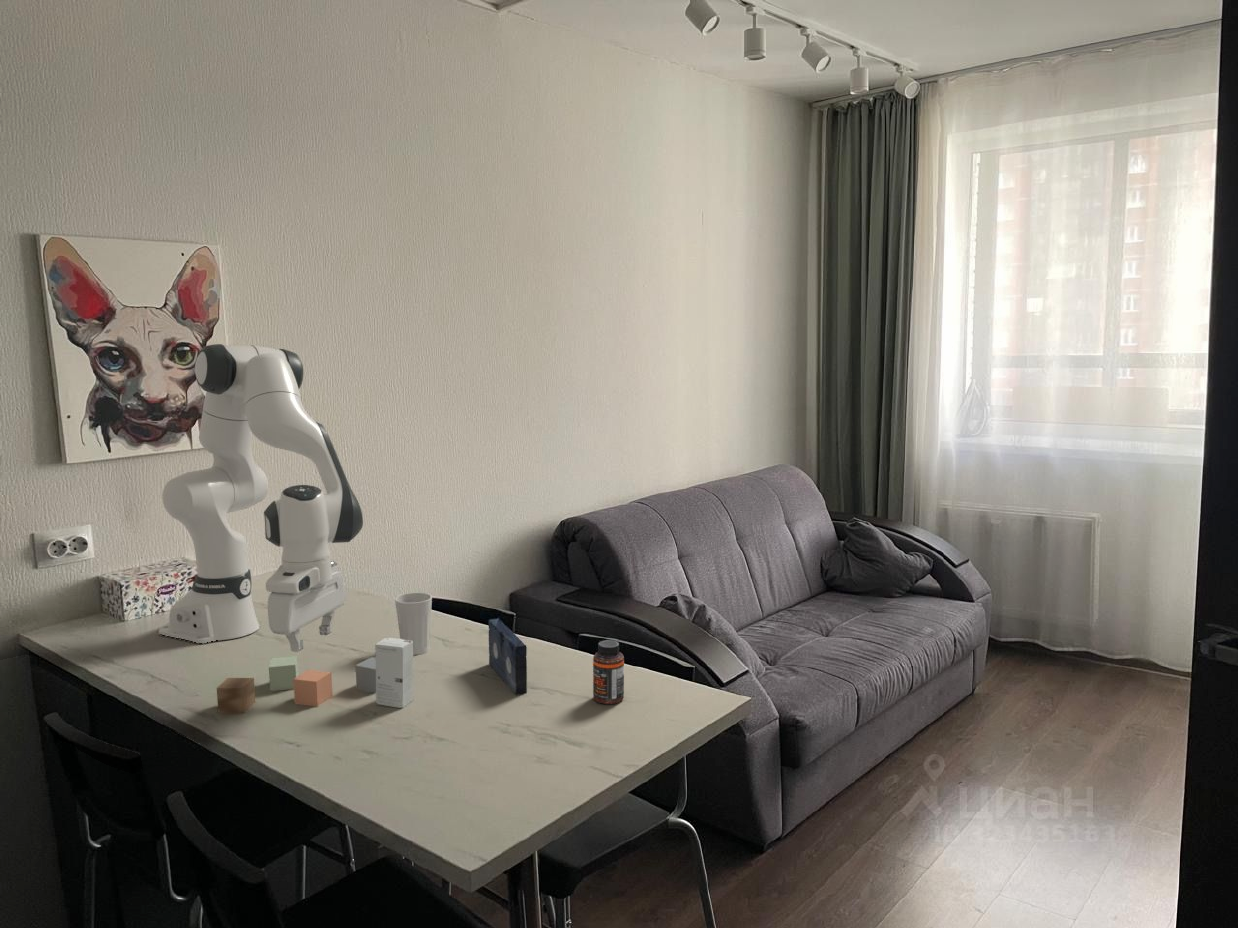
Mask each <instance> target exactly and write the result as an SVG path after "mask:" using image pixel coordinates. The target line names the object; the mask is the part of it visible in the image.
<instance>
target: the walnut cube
mask: <svg viewBox="0 0 1238 928" xmlns="http://www.w3.org/2000/svg"><path fill="white" fill-rule="evenodd" d="M216 699H217V701H216V702H217V713H218V714H245V713H247V712H248V711H249V710H250V708H251V707H253V706H254V705H255V703H256V689H255V677H227V678H226V679H225V680H224V681H223V682H221V684H219V685H218V686H217V687H216Z"/></svg>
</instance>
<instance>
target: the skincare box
mask: <svg viewBox="0 0 1238 928" xmlns="http://www.w3.org/2000/svg"><path fill="white" fill-rule="evenodd" d="M374 649H375V650H374V652H375V658H376V693H375V698H376V699H375V703H376V705H379V706H386V707H392V708H397V709H398V708H399V709H403V708H405V707H406V706H409V704H410V703H412V702H413V701H414V655H413V641H409V640H403V639H400V638H396V637H395V638H392V637H385V638H383V639H382V640H380V641H378V642H377V643H375V648H374Z"/></svg>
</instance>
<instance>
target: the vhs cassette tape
mask: <svg viewBox="0 0 1238 928" xmlns="http://www.w3.org/2000/svg"><path fill="white" fill-rule="evenodd" d="M527 649H528V648H527V645H526V644H525V642H523V641H522V640H521V638H519V637H518V636H517V635H516V634H515V632H513V630H511V629H510V628H509V627H508V626H507V625H506V624H505V623H504V622H503V621H502V620H501V619H500V618H499V617H498V618H491V619H488V654H489V655H488V664H489V666H490V667H491V669H492V670H493V671H494V672H495V673H496V674H497V675H498V676H499V678H500V679H501V678H502V679H503V680H504V681H503V680H502V679H501V680H502V681H503V682H504V684H506V686H507V685H508V686H509V687H508V686H507V687H508V688H509V689H510V690H511V691H512V692H513V694H514V693H515V694H514V695H515V696H516V695H518V694H519V695H521V694H522V695H523V694H527V693H528V679H527V678H528V675H527V673H528V666H527V663H528V661H527V655H528V652H527V651H528V650H527ZM519 695H518V696H519Z"/></svg>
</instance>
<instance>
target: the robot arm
mask: <svg viewBox="0 0 1238 928" xmlns="http://www.w3.org/2000/svg"><path fill="white" fill-rule="evenodd" d="M303 365H304V364H303V361H302V360H301V359H300V357H299V355H298V354H297V353H295V352H294V351H290V350H287V349H285V348H279V349H277V348H273V347H268V346H261V345H254V344H253V345H252V344H250V345H245V344H243V345H241V344H240V345H237V344H234V345H233V344H232V345H231V344H229V345H223V344H222V343H220V344H219V343H216V344H208V345H205V346H203V348H202V349H201V350H199V351H198V354H197V357H196V360H195V365H194V373H195V378H196V383H197V384H198V385H199V386H200V388H201V389H202V390H203V391H205V392H206V393H205V397H204V400H203V401H204V402H203V407H202V413H201V421H200V426H199V434H198V440H199V443H200V445H201V446H202V447H203V449H204V450H205V451H207V452H208V453H210V454H212V456H213V464H212V466H211V467H209V468H204V469H199V470H194V471H188V472H185V473H183V474H180V475H178V476H176V477H173V478H171V479H169V480H168V481H167V482H166V483H165V485H164V487H163V489H162V490H163V491H162V494H161V496H162V497H161V498H162V504H163V506H164V509H165V511H166V512H167V513H168V515H170V517H171V518H173V519H175V520H177V521H178V522H180V523H181V524H182V525H183V526H184V528H186V530H187V532H188V533H189V535H190V537H191V540H192V542H193V543H192V544H193V547H194V553H195V561H196V562H195V563H196V574H195V575H193V576H190V577H188V578H187V580H189V581H187V583H188V584H190V583H192V586H191V589H190V591H188V592H187V593H186V594H185V595H183V596H182V597H181V598H180V599H179V600H177V602H175V603H174V604H173V605H172V606H171V608H170V610H169V615H168V616H169V617H168V618H169V619H168V623H166V624H164V625H163V626H162V627H160V628H159V630H158V635H159V634H163V635H168V636H173V637H178V638H183V639H186V640H190V641H193V642H192V643H194V642H196V643H195V644H199V643H202V644H208V643H212V642H211V641H213V642H216V640H218V641H225V640H232V639H236V638H241V637H245V636H248V635H250V634H253V633H255V632H257V631H258V630H259V629H260V627H261V625H260V623H259V620H258V618H257V615H256V612H255V606H254V603H253V597H252V593H251V592H252V574H251V570H250V569H249V558H248V557H249V556H248V547H247V546H248V544H247V539H246V538H245V536H244V535H243V534H242V533H240V532H239V531H237V530H235V529H232V528H231V526H230V524H229V522H228V518H227V514H229V513H233V512H239V511H243V510H246V509H249V508H251V507H253V506H255V505H257V504H258V503H260V502H262V501H263V500H264V499H265V498H266V497H267V494H268V491H269V480H268V477H267V475H266V473H265V471H264V470H263V469H262V468H261V467H260V466H259V465H258V464H257V463H256V461H255V459H254V455H253V437H256V439H258V440H259V441H260V442H262V443H263V444H264V445H268V446H270V447H273V448H275V449H280V450H284V451H288V452H289V451H290V452H292V453H296V454H299V455H302V456H304V457H306V458H307V459H309V460H310V461H312V463H314V464H315V466H316V468H317V473H318V475H319V477H320V478H321V481H322V484H323V486H324V489H325V491H326V494H324V492H323V490H322V489H321V488H319V487H317V486H314V485H308V484H297V485H291V486H289V487H288V486H287V487H286V488H284V489H283V490H282V491H281V493H280V495H279V497H280V499H276V500H273V501H272V502H271V503H270V504H269V505H268V506H267V507H266V509H265V510H264V511H263V516H264V517H263V519H264V530H265V533H264V534H265V537H264V538H265V540H266V541H268V542H269V543H271V544H272V545H274V546H276V547H278V548H282V555H281V564H280V566H279V567H278V568H277V570H276V571H274V573H273V574H272V575H271V576H270V577H269V578H268V579H266V582H265V589H266V592H267V593H268V592H269V593H270V594H269V596H268V598H267V619H268V627H269V629H270V631H271V632H272V633H273V634H276V635H285V637H286V639H287V640H288V641H289V644H290V645H289V646H290V651H292V652H295V653H298V652H300V651H302V650H303V649H304V640H303V639H302V640H301V639H300V637H299V635H300V630H301V628H303V627H306V626H307V625H308V624H311V623H312V622H315V621H317V620H318V619H320V618H321V624H320V625H319V626H318V630H319V632H318V633H319V635H320V636H328V635H329V634H331V633H332V624H333V622H334V617H335V610H337V609H338V608H339V609H340V608H341V607H342V606H344V605H345V602H346V598H347V597H346V595H347V594H346V588H345V587H346V586H345V581H344V576H343V574H342V572H341V571H340V566H339V564H338V563H337V562H335V561H334V560H332V555H331V554H332V553H331V550H330V548H329V543H331V544H339V543H350V542H351V541H352V540H354V538H355V537H356V536H358V535H359V534H360V532H361V530H362V529H363V527H364V526H363V525H364V519H363V518H364V517H363V516H364V515H363V512H362V508H361V505H360V502H359V500H358V499H357V497H356V495H355V494H354V491H353V489H352V487H351V486H350V483H349V481H348V479H347V476H346V474H345V471H344V469H343V466H342V464H341V461H340V458H339V457H338V453H337V451H336V450H335V447H334V445H333V442H332V440H331V438H330V436H329V433H328V431H327V430H326V428H325V427H324V425H323V424H322V423H320V422H318V421H315V420H314V419H313V418H312V417H311V416H310V415H309V413H308V412H307V411H306V409H305V408H304V406H303V402H302V398H301V397H302V396H301V393H300V389H301V387H302V384H303V380H304V366H303ZM253 435H254V436H253ZM259 626H260V627H259ZM190 641H189V642H190ZM207 642H208V643H207Z"/></svg>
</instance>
